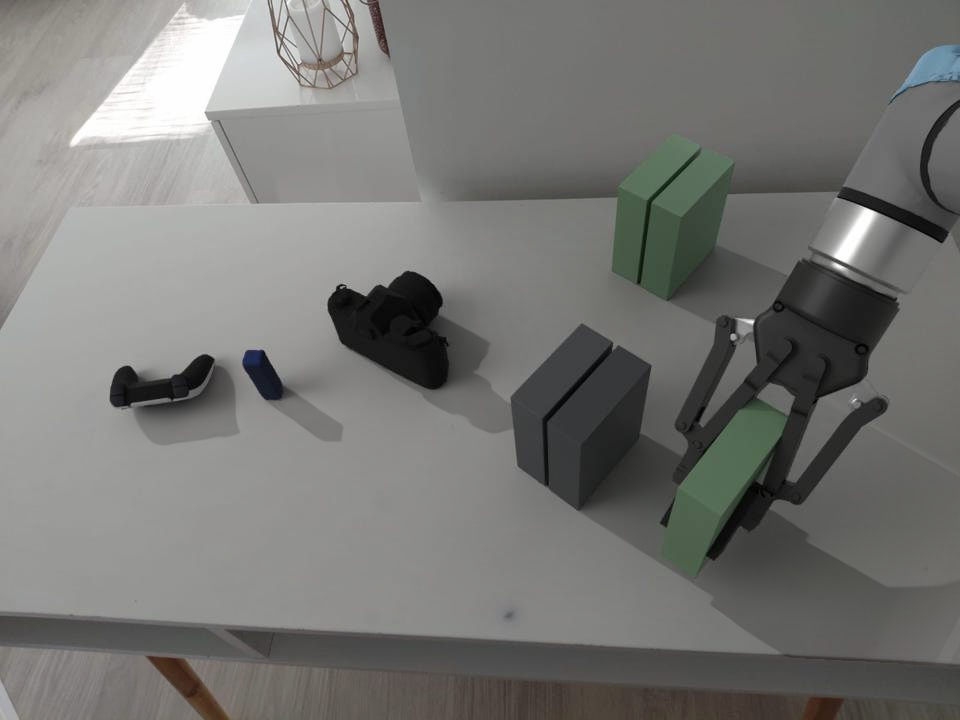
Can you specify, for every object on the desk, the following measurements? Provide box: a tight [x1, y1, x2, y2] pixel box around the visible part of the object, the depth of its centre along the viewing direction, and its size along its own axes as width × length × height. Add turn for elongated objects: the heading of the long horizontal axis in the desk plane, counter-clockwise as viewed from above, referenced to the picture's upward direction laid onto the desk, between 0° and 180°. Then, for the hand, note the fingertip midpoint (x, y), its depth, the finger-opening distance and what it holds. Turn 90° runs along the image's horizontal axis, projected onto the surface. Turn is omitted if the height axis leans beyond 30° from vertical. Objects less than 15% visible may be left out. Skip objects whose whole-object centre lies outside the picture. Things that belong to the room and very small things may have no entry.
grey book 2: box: [547, 345, 653, 511], centre depth 69 cm, size 4×10×13 cm, turn 138°
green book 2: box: [640, 148, 736, 301], centre depth 82 cm, size 4×10×13 cm, turn 139°
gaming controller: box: [109, 353, 216, 410], centre depth 82 cm, size 11×4×7 cm
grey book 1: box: [509, 322, 614, 487], centre depth 71 cm, size 4×10×13 cm, turn 138°
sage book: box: [659, 396, 789, 580], centre depth 60 cm, size 4×10×13 cm, turn 139°
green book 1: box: [611, 133, 703, 285], centre depth 84 cm, size 4×10×13 cm, turn 139°
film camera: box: [326, 270, 450, 390], centre depth 81 cm, size 15×10×9 cm, turn 56°
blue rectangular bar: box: [241, 349, 284, 401], centre depth 80 cm, size 2×2×7 cm
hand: (691, 537), depth 61 cm, fingers closed on sage book, 3 cm apart
